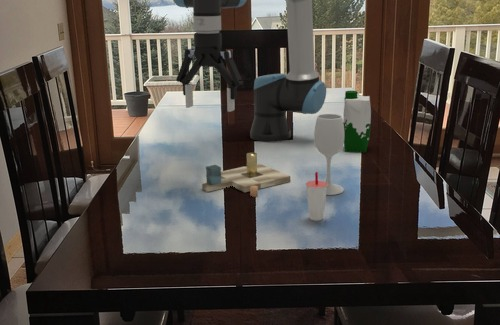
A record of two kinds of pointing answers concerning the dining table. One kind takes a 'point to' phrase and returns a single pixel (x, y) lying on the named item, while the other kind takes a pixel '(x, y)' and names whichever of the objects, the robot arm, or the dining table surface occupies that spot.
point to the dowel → (254, 191)
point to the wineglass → (329, 143)
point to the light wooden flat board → (242, 178)
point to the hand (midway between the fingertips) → (209, 108)
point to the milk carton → (356, 122)
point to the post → (251, 165)
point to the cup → (316, 198)
